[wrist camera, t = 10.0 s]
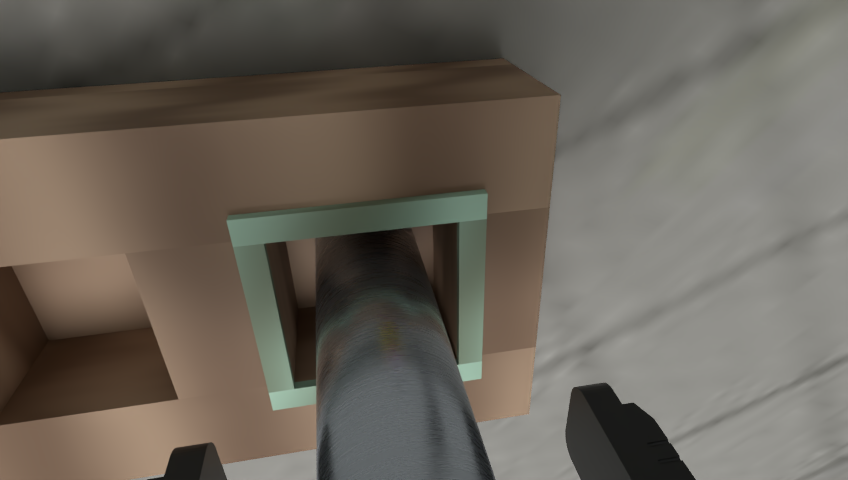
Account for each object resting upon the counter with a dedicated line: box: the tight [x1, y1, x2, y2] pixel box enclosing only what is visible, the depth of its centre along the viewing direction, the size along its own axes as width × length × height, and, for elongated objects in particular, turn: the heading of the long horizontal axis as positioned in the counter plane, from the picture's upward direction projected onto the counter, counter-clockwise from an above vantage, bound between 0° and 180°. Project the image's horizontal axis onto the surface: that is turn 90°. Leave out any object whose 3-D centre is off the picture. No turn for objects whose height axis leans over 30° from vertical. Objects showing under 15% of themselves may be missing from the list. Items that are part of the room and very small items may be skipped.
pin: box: [315, 227, 495, 480], centre depth 14 cm, size 4×4×12 cm
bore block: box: [0, 58, 561, 480], centre depth 18 cm, size 20×12×5 cm, turn 92°
